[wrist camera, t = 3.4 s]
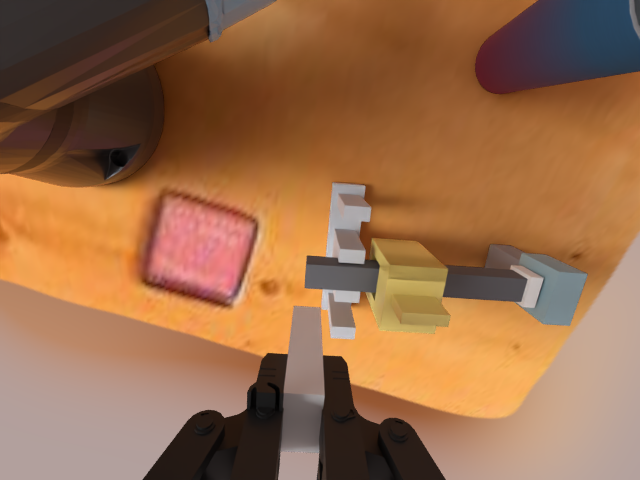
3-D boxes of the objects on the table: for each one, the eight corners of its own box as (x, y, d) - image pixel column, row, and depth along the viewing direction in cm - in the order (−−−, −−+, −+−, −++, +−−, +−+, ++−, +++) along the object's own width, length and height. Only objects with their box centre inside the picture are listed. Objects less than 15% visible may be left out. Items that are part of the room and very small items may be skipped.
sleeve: (364, 290, 29) (387, 352, 20) (371, 237, 27) (399, 280, 19) (408, 293, 29) (449, 356, 20) (417, 241, 27) (465, 284, 19)
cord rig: (302, 302, 34) (299, 358, 25) (311, 180, 30) (311, 194, 21) (492, 314, 35) (553, 371, 26) (523, 197, 31) (607, 217, 22)
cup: (497, 121, 29) (680, 96, 15) (448, 66, 28) (597, -21, 13) (557, 59, 28) (824, -35, 13) (509, -2, 26) (749, -181, 12)
